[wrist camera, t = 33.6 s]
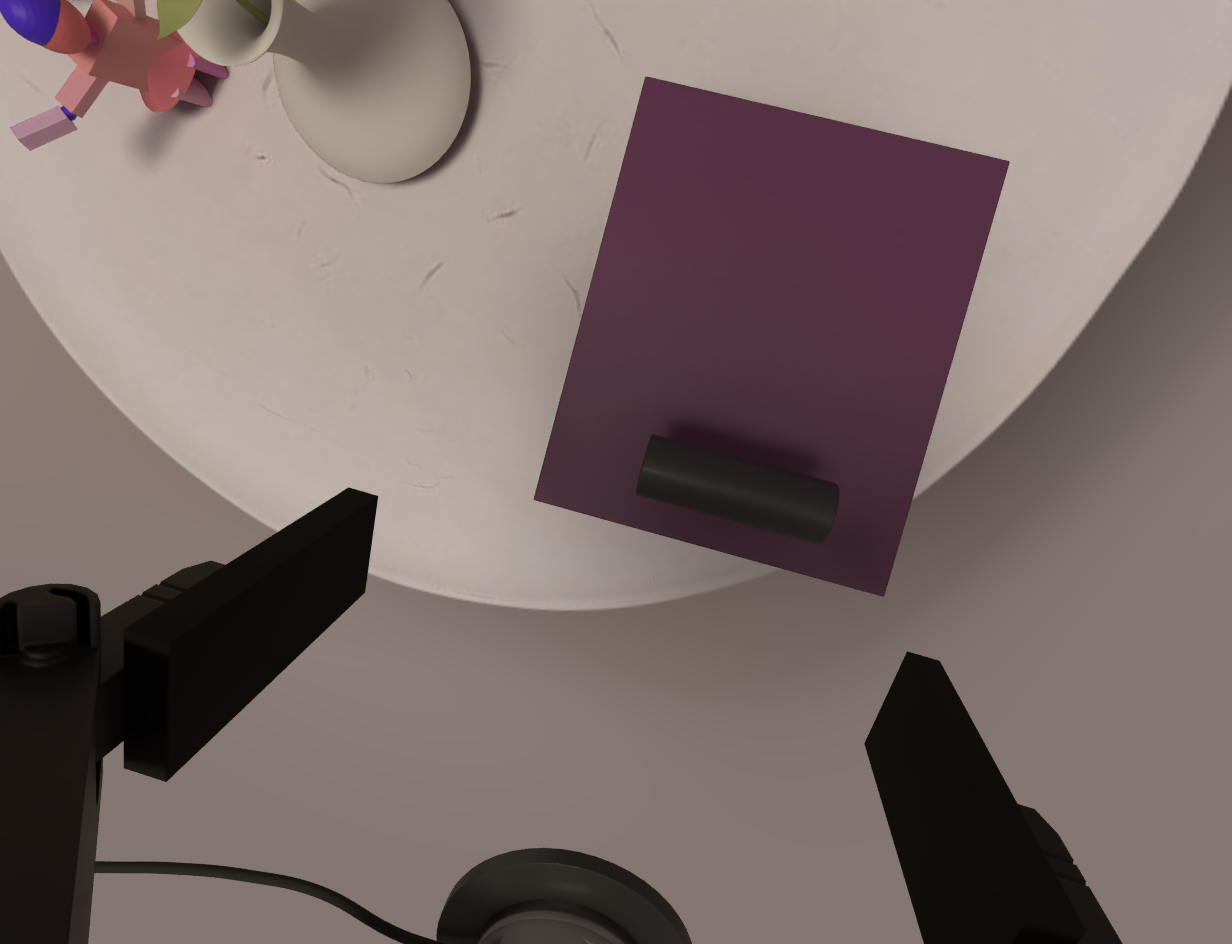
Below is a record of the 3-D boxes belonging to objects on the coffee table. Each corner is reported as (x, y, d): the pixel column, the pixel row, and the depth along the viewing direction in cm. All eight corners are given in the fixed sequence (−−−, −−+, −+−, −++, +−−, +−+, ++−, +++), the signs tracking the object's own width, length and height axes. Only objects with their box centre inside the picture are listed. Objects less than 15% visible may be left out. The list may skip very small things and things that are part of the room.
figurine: (127, 153, 43) (-66, 120, 32) (210, -26, 39) (22, -129, 28) (171, 189, 43) (-6, 168, 33) (258, 16, 39) (88, -72, 29)
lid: (877, 592, 26) (939, 632, 20) (537, 498, 27) (501, 510, 21) (999, 170, 25) (1100, 84, 19) (645, 87, 26) (640, -19, 20)
